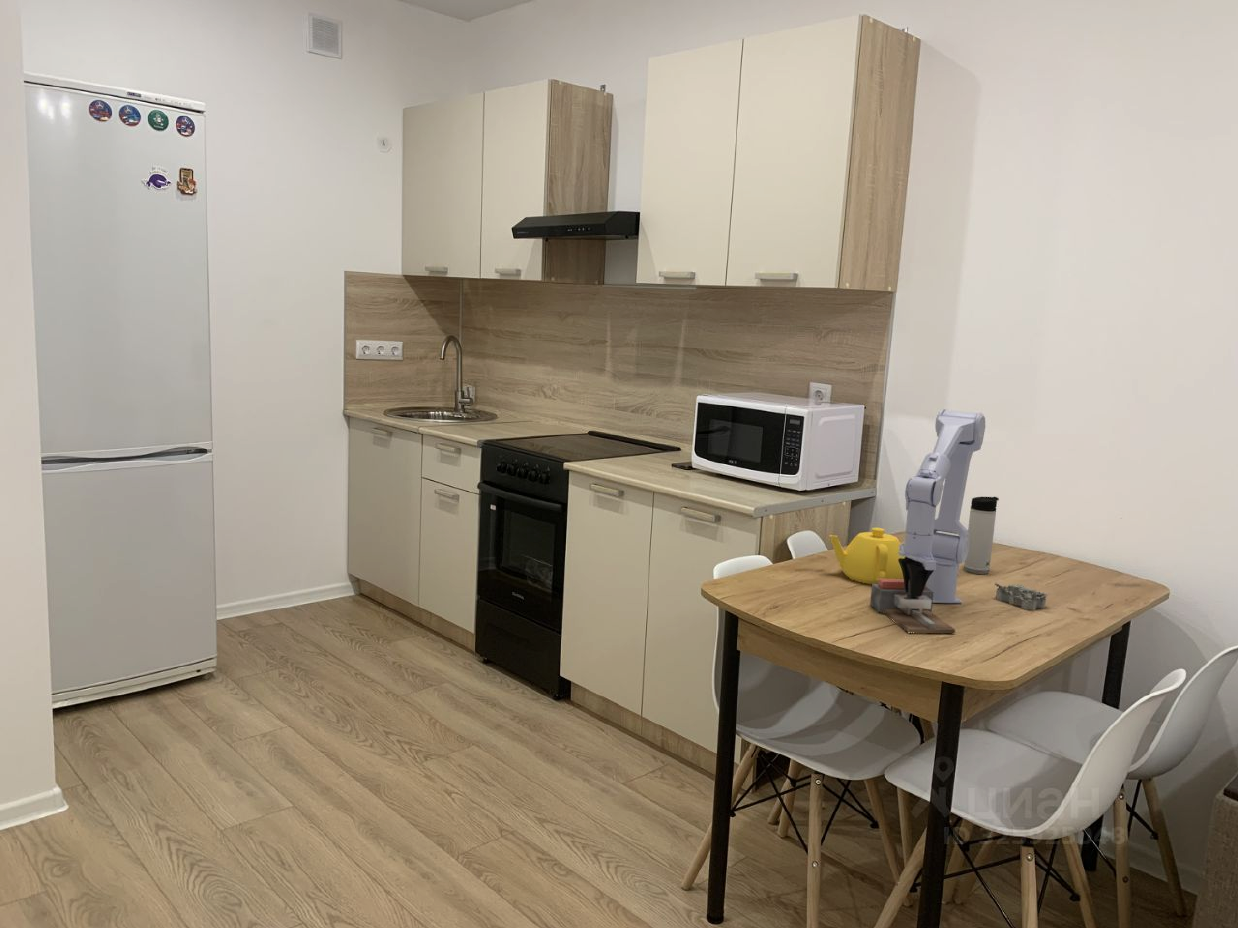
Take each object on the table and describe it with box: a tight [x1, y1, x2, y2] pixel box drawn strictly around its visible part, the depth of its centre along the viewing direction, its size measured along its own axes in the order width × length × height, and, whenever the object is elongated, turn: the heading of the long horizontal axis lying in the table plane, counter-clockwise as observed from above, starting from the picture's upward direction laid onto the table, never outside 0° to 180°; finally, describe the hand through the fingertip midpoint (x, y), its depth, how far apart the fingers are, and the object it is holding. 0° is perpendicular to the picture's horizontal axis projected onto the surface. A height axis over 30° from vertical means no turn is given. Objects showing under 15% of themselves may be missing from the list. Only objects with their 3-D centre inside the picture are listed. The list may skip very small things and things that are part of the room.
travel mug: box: [963, 496, 1000, 575], centre depth 247 cm, size 6×7×20 cm
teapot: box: [829, 526, 905, 585], centre depth 235 cm, size 20×19×13 cm
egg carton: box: [994, 582, 1050, 611], centre depth 221 cm, size 11×8×4 cm
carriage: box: [893, 578, 932, 614], centre depth 205 cm, size 4×7×7 cm, turn 96°
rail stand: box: [869, 584, 956, 634], centre depth 204 cm, size 19×12×5 cm, turn 6°
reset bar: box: [878, 579, 926, 589], centre depth 211 cm, size 2×10×2 cm, turn 96°
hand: (913, 593), depth 205 cm, fingers closed on carriage, 2 cm apart
